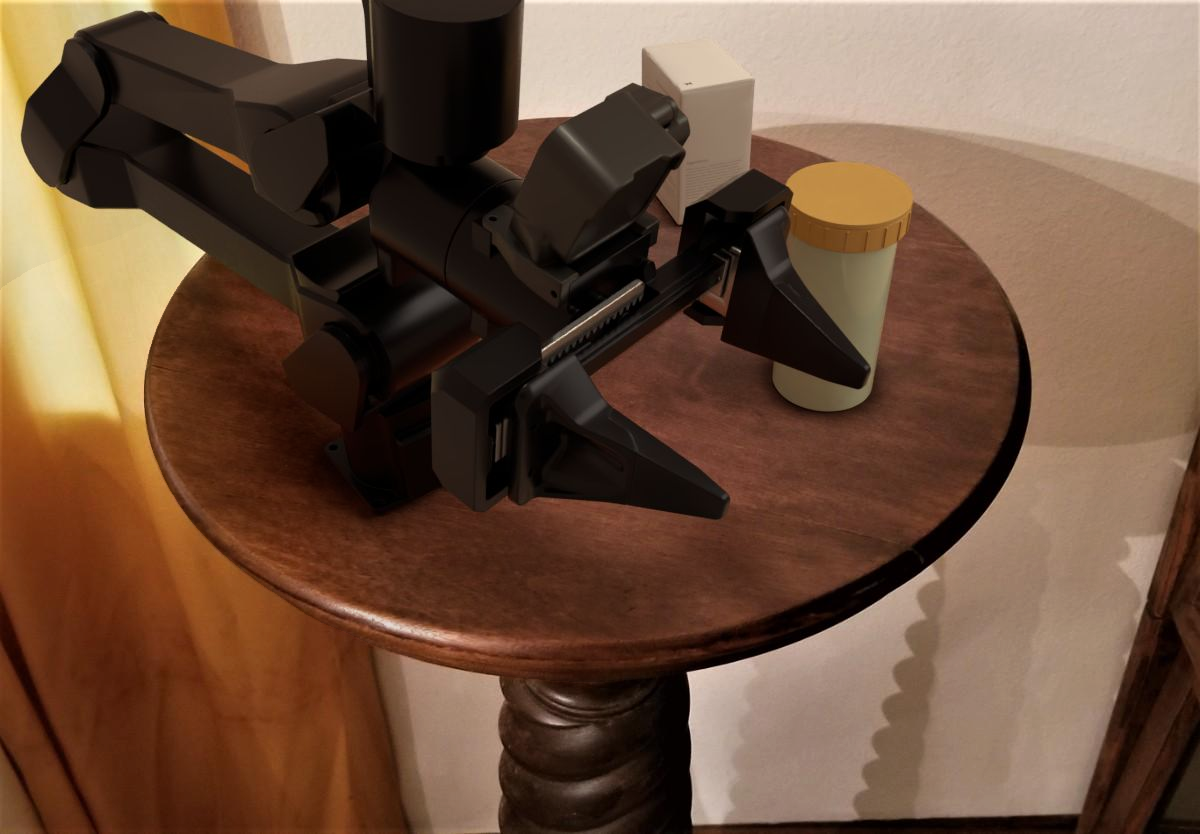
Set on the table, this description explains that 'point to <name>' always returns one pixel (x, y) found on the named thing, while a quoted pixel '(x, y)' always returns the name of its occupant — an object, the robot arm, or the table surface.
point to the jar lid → (849, 207)
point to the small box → (703, 115)
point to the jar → (840, 316)
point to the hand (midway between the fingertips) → (800, 440)
